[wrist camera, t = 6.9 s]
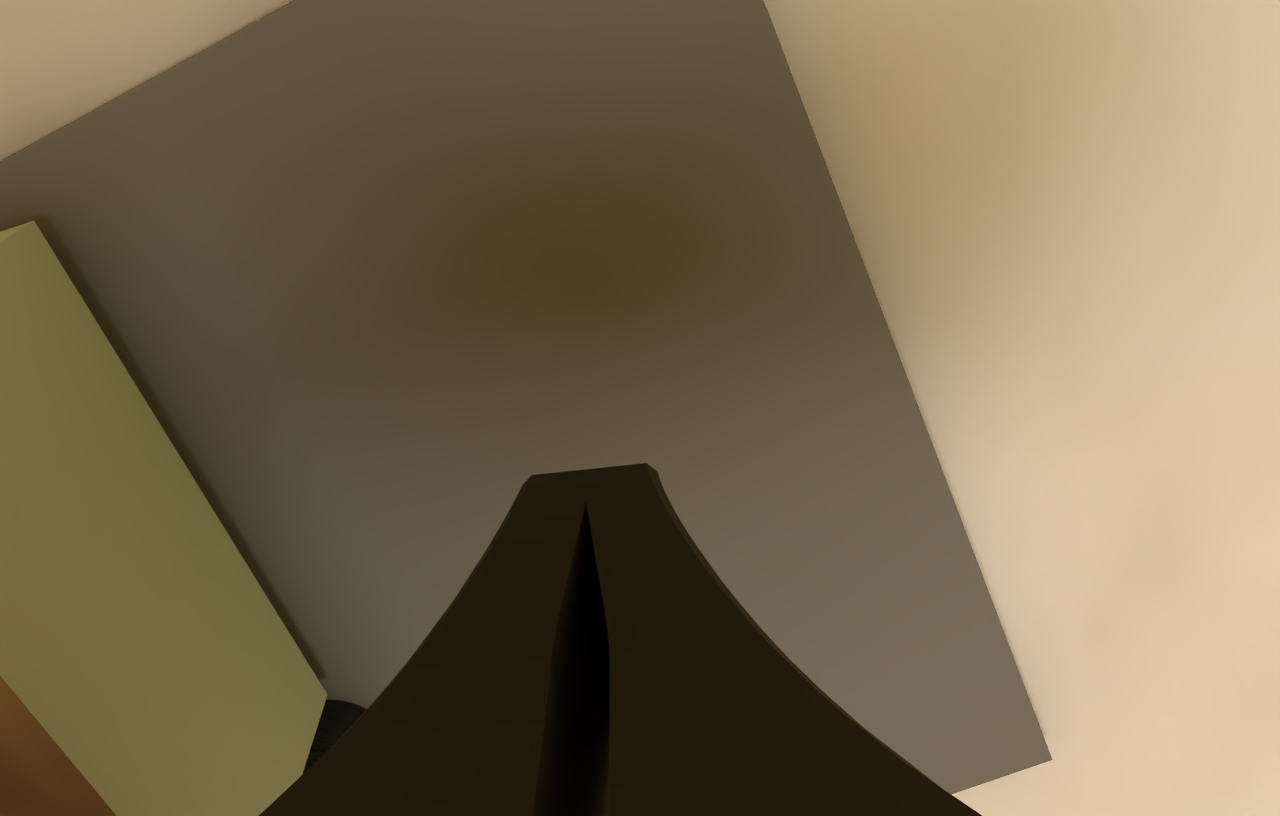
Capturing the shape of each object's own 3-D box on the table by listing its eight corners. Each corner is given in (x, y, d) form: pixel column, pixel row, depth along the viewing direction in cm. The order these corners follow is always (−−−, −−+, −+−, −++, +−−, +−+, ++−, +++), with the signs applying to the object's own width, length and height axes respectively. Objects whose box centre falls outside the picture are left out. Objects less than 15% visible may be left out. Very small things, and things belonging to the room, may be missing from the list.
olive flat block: (350, 702, 18) (243, 1078, 12) (257, 727, 18) (110, 1107, 12) (42, 192, 13) (-354, 426, 8) (-81, 232, 13) (-551, 488, 8)
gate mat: (363, 975, 23) (271, 1426, 16) (-309, 331, 15) (-1042, 709, 8) (1041, 739, 20) (1263, 1167, 13) (679, -210, 12) (789, -303, 5)
